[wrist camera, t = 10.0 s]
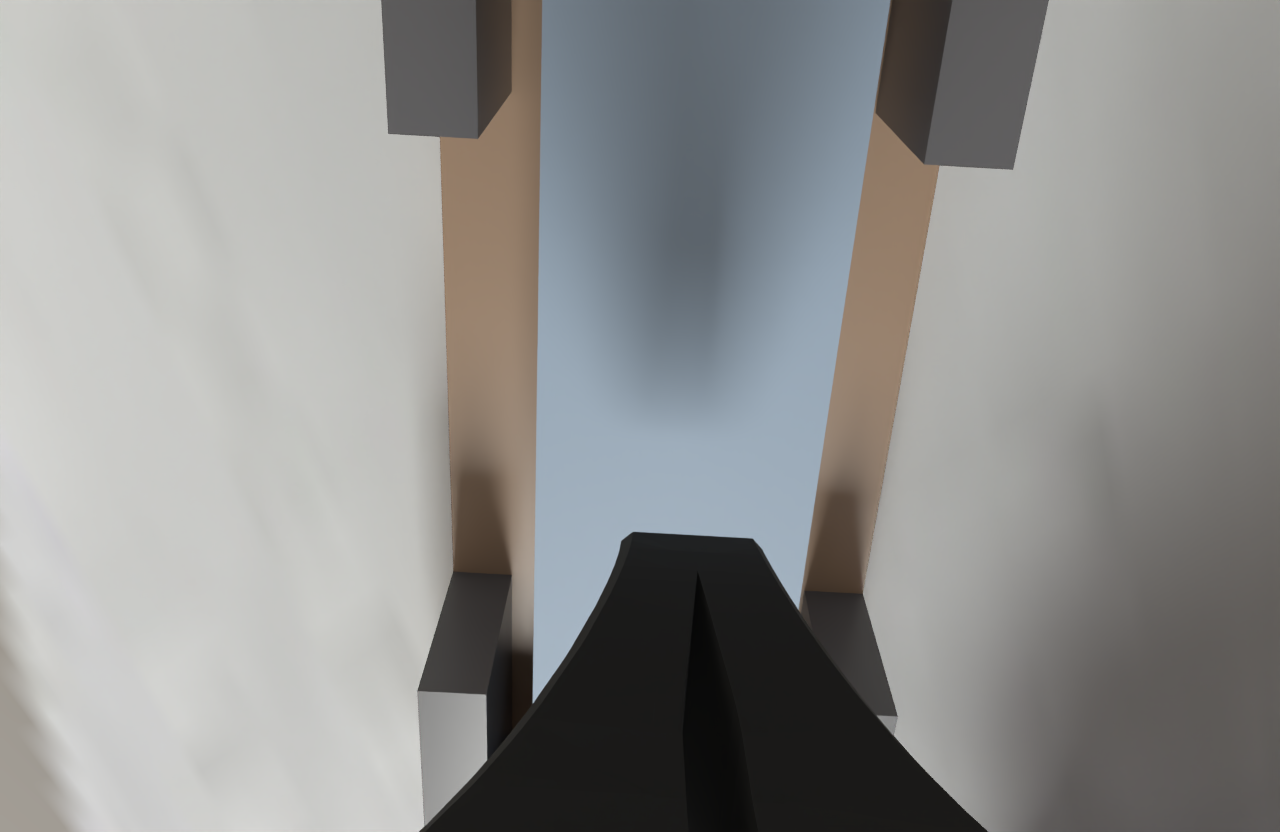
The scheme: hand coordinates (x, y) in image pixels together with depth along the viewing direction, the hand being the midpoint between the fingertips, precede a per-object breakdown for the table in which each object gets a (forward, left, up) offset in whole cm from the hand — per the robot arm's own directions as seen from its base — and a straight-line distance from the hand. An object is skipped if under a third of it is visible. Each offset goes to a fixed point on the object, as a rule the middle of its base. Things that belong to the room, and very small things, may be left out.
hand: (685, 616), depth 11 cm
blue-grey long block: (0, 0, -6) cm, 6 cm away
